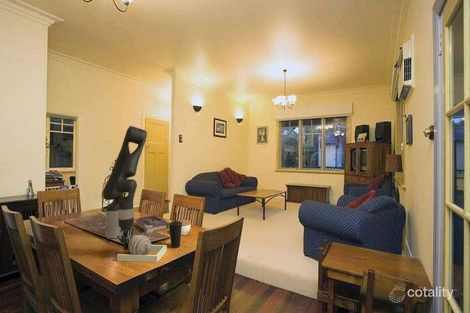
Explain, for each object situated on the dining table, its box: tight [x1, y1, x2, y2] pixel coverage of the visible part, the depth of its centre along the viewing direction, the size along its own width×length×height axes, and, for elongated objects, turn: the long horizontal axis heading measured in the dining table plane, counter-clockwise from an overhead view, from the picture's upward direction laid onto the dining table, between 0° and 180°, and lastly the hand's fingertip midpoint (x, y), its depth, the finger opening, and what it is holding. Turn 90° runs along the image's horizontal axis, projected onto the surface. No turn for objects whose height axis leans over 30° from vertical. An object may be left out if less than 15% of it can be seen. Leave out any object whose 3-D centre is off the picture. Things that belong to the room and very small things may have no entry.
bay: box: [116, 244, 168, 263], centre depth 133 cm, size 20×14×3 cm
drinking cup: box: [169, 211, 182, 249], centre depth 145 cm, size 8×8×20 cm
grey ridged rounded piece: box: [128, 234, 152, 255], centre depth 131 cm, size 11×17×11 cm, turn 58°
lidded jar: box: [177, 218, 192, 236], centre depth 168 cm, size 11×11×9 cm
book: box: [134, 214, 170, 234], centre depth 183 cm, size 25×16×5 cm, turn 39°
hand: (126, 249), depth 133 cm, fingers closed
